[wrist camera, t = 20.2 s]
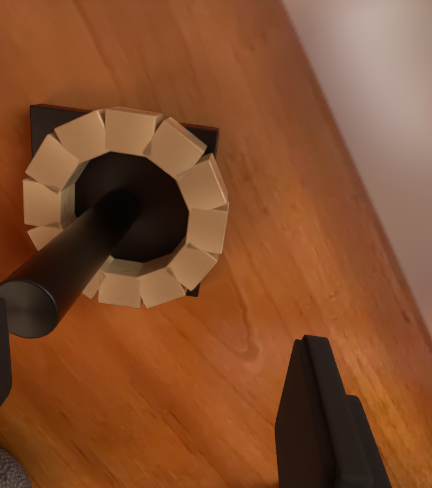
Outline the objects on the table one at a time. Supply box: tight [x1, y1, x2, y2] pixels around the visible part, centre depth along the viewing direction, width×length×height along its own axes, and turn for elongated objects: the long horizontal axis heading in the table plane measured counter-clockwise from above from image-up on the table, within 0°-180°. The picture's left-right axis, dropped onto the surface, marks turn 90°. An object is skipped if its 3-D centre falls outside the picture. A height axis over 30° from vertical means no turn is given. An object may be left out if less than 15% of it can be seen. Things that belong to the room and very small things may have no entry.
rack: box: [0, 104, 219, 339], centre depth 17 cm, size 9×9×11 cm
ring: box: [23, 106, 229, 308], centre depth 20 cm, size 10×10×2 cm
